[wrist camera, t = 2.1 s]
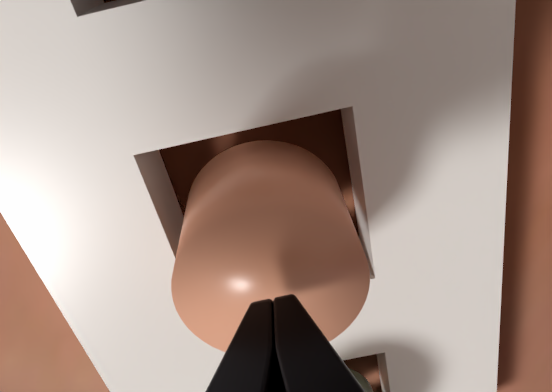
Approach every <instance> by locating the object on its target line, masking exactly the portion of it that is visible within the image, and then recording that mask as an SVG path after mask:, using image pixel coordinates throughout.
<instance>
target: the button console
mask: <svg viewBox="0 0 552 392" xmlns="http://www.w3.org/2000/svg"><path fill="white" fill-rule="evenodd" d="M515 7H516V0H115V1H110V2H106V3H104V2H103V0H0V212H1V214H2V215H3V217H4V219H5V220H6V222H7V224H8V225H9V227H10V228H11V230H12V232H13V233H14V235H15V237H16V238H17V240H18V242H19V243H20V245H21V246H22V248H23V250H24V251H25V253H26V255H27V256H28V258H29V260H30V261H31V263H32V265H33V266H34V268H35V269H36V271H37V273H38V274H39V276H40V278H41V279H42V281H43V283H44V284H45V286H46V287H47V289H48V291H49V292H50V294H51V296H52V297H53V299H54V301H55V302H56V304H57V305H58V307H59V309H60V310H61V312H62V314H63V315H64V317H65V319H66V320H67V322H68V323H69V325H70V327H71V328H72V330H73V332H74V333H75V335H76V337H77V338H78V340H79V342H80V343H81V345H82V346H83V348H84V350H85V351H86V353H87V355H88V356H89V358H90V360H91V361H92V363H93V364H94V366H95V368H96V369H97V371H98V373H99V374H100V376H101V378H102V379H103V381H104V382H105V384H106V386H107V387H108V389H109V391H110V392H205V391H206V389H207V387H208V386H209V384H210V382H211V380H212V378H213V376H214V374H215V372H216V370H217V368H218V366H219V364H220V362H221V360H222V358H223V356H224V354H225V352H223V351H221V350H219V349H216V348H214V347H212V346H210V345H209V344H207V343H205V342H204V341H202V340H201V339H200V338H198V337H197V336H196V335H194V334H193V333H192V332H191V331H190V330H189V329H188V328H187V326H186V325H185V324H184V322H183V321H182V320H181V318H180V316H179V314H178V313H177V311H176V308H175V305H174V302H173V298H172V292H171V279H172V274H173V269H174V264H175V259H176V254H177V249H178V244H179V239H180V234H181V229H182V224H183V219H184V216H183V213H182V211H181V208H180V205H179V202H178V200H177V197H176V194H175V192H174V189H173V186H172V184H171V181H170V178H169V176H168V173H167V170H166V168H165V165H164V162H163V160H162V157H161V154H160V152H159V149H164V148H168V147H172V146H177V145H181V144H186V143H190V142H195V141H199V140H204V139H208V138H213V137H217V136H222V135H226V134H231V133H235V132H239V131H244V130H248V129H253V128H257V127H262V126H266V125H271V124H275V123H280V122H284V121H289V120H293V119H298V118H302V117H306V116H311V115H315V114H320V113H324V112H329V111H333V110H338V109H341V116H342V122H343V129H344V136H345V143H346V150H347V157H348V163H349V170H350V177H351V184H352V191H353V197H354V204H355V211H356V218H357V225H358V232H359V236H358V237H359V240H360V243H361V245H362V248H363V250H364V253H365V256H366V258H367V261H368V266H369V270H370V285H369V291H368V295H367V299H366V301H365V303H364V306H363V308H362V310H361V311H360V313H359V314H358V316H357V318H356V319H355V320H354V321H353V322H352V323H351V325H350V326H349V327H348V328H347V329H346V330H345V331H343V332H342V333H341V334H340V335H338V336H337V337H336V338H334V339H333V340H331V341H330V344H331V345H332V346H333V348H334V349H335V351H336V352H337V353H338V355H339V356H340V357H341V359H342V360H348V359H353V358H358V357H363V356H368V355H373V354H377V361H378V368H379V375H380V382H381V389H382V392H497V374H498V353H499V333H500V313H501V292H502V272H503V251H504V231H505V211H506V190H507V170H508V150H509V129H510V109H511V89H512V68H513V48H514V28H515Z"/></svg>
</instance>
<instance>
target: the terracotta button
mask: <svg viewBox="0 0 552 392" xmlns="http://www.w3.org/2000/svg"><path fill="white" fill-rule="evenodd" d="M369 285H370V270H369V266H368V261H367V258H366V256H365V253H364V250H363V248H362V245H361V243H360V240H359V237H358V235H357V232H356V229H355V227H354V224H353V222H352V219H351V216H350V214H349V211H348V209H347V206H346V203H345V201H344V198H343V195H342V193H341V190H340V188H339V185H338V183H337V180H336V178H335V177H334V175H333V173H332V172H331V170H330V169H329V168H328V167H327V165H326V164H325V163H324V162H323V161H322V160H320V159H319V158H318V157H317V156H315V155H314V154H312V153H311V152H309V151H307V150H305V149H303V148H301V147H299V146H296V145H293V144H290V143H286V142H281V141H272V140H262V141H253V142H247V143H243V144H240V145H236V146H234V147H231V148H229V149H227V150H225V151H223V152H222V153H220V154H218V155H217V156H215V157H214V158H213V159H212V160H210V161H209V162H208V163H207V164H206V165H205V166H204V167H203V168H202V169H201V171H200V172H199V173H198V175H197V176H196V178H195V180H194V182H193V184H192V186H191V189H190V192H189V195H188V200H187V205H186V210H185V215H184V219H183V224H182V229H181V234H180V239H179V244H178V249H177V254H176V259H175V264H174V269H173V274H172V279H171V292H172V298H173V302H174V305H175V308H176V311H177V313H178V314H179V316H180V318H181V320H182V321H183V322H184V324H185V325H186V326H187V328H188V329H189V330H190V331H191V332H192V333H193V334H194V335H196V336H197V337H198V338H200V339H201V340H202V341H204V342H205V343H207V344H209V345H210V346H212V347H214V348H216V349H219V350H221V351H223V352H226V350H227V348H228V346H229V344H230V342H231V340H232V338H233V337H234V335H235V333H236V331H237V329H238V327H239V325H240V323H241V321H242V319H243V317H244V315H245V313H246V311H247V309H248V307H249V305H250V304H251V303H252V302H255V301H260V300H265V299H271V300H272V301H273V300H274V298H275V297H279V296H284V295H289V294H293V295H295V296H296V297H297V298H298V300H299V301H300V303H301V304H302V305H303V307H304V308H305V309H306V311H307V312H308V314H309V315H310V316H311V318H312V319H313V320H314V322H315V323H316V325H317V326H318V327H319V329H320V330H321V331H322V333H323V334H324V336H325V337H326V338H327V340H328V341H329V342H330V341H331V340H333V339H334V338H336V337H337V336H338V335H340V334H341V333H342V332H343V331H345V330H346V329H347V328H348V327H349V326H350V325H351V323H352V322H353V321H354V320H355V319H356V318H357V316H358V314H359V313H360V311H361V310H362V308H363V306H364V303H365V301H366V299H367V295H368V291H369Z"/></svg>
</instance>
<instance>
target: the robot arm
mask: <svg viewBox="0 0 552 392" xmlns="http://www.w3.org/2000/svg"><path fill="white" fill-rule="evenodd" d="M205 392H365V390H364V389H363V388H362V386H361V385H360V384H359V382H358V381H357V379H356V378H355V377H354V375H353V374H352V373H351V371H350V370H349V368H348V367H347V366H346V364H345V363H344V362H343V360H342V359H341V357H340V356H339V355H338V353H337V352H336V351H335V349H334V348H333V346H332V345H331V344H330V342H329V341H328V340H327V338H326V337H325V336H324V334H323V333H322V331H321V330H320V329H319V327H318V326H317V325H316V323H315V322H314V320H313V319H312V318H311V316H310V315H309V314H308V312H307V311H306V309H305V308H304V307H303V305H302V304H301V303H300V301H299V300H298V298H297V297H296V296H295V295H293V294H289V295H284V296H279V297H275V298H274V300H273V301H272V300H271V299H265V300H260V301H255V302H252V303H251V304H250V305H249V307H248V309H247V311H246V313H245V315H244V317H243V319H242V321H241V323H240V325H239V327H238V329H237V331H236V333H235V335H234V337H233V338H232V340H231V342H230V344H229V346H228V348H227V350H226V352H225V354H224V356H223V358H222V360H221V362H220V364H219V366H218V368H217V370H216V372H215V374H214V376H213V378H212V380H211V382H210V384H209V386H208V387H207V389H206V391H205Z"/></svg>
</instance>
